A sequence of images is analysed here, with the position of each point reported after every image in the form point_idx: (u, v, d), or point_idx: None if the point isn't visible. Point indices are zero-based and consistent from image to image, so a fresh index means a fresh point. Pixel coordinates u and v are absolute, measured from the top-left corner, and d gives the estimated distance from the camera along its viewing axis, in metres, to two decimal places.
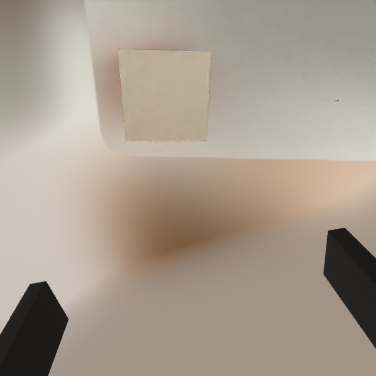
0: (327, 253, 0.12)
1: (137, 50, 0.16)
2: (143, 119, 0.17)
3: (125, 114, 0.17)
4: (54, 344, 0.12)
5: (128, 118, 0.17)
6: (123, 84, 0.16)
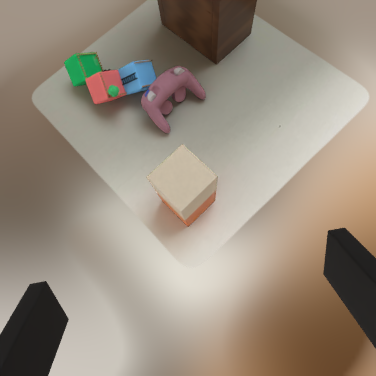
0: (327, 253, 0.12)
1: (154, 170, 0.29)
2: (180, 194, 0.28)
3: (170, 199, 0.28)
4: (54, 344, 0.12)
5: (173, 200, 0.28)
6: (159, 187, 0.29)
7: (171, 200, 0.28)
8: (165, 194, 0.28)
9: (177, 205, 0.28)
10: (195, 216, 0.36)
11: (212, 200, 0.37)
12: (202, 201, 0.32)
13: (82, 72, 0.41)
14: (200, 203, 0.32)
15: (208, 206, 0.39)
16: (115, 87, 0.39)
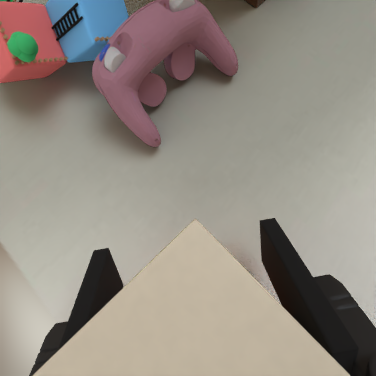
0: (261, 241, 0.14)
1: (61, 350, 0.06)
2: None
3: None
4: None
5: None
6: None
7: None
8: None
9: None
10: None
11: None
12: None
13: None
14: None
15: None
16: (23, 35, 0.16)
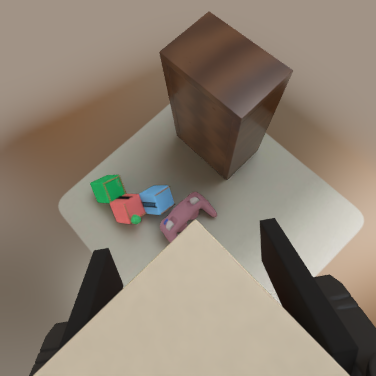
0: (261, 241, 0.14)
1: (61, 351, 0.06)
2: None
3: None
4: None
5: None
6: None
7: None
8: None
9: None
10: None
11: None
12: None
13: (107, 196, 0.46)
14: None
15: None
16: (137, 218, 0.43)
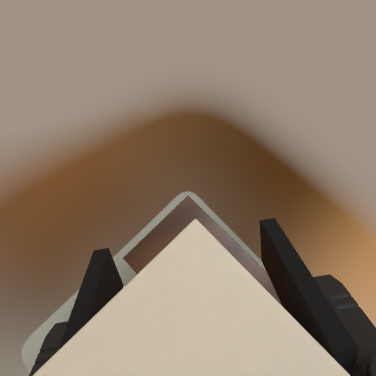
0: (261, 241, 0.14)
1: (61, 350, 0.06)
2: None
3: None
4: None
5: None
6: None
7: None
8: None
9: None
10: None
11: None
12: None
13: None
14: None
15: None
16: None
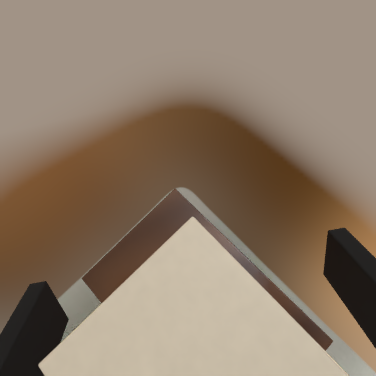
0: (327, 253, 0.12)
1: (73, 332, 0.07)
2: None
3: None
4: (54, 344, 0.12)
5: None
6: None
7: None
8: None
9: None
10: None
11: None
12: None
13: None
14: None
15: None
16: None
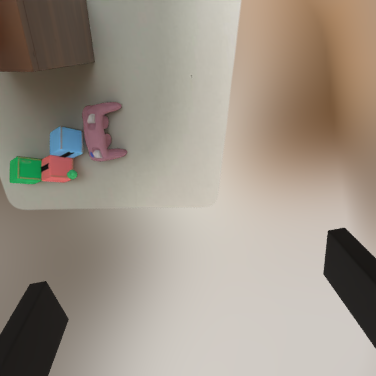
0: (327, 253, 0.12)
1: None
2: None
3: None
4: (54, 344, 0.12)
5: None
6: None
7: None
8: None
9: None
10: None
11: None
12: None
13: (34, 179, 0.45)
14: None
15: None
16: (72, 174, 0.44)
